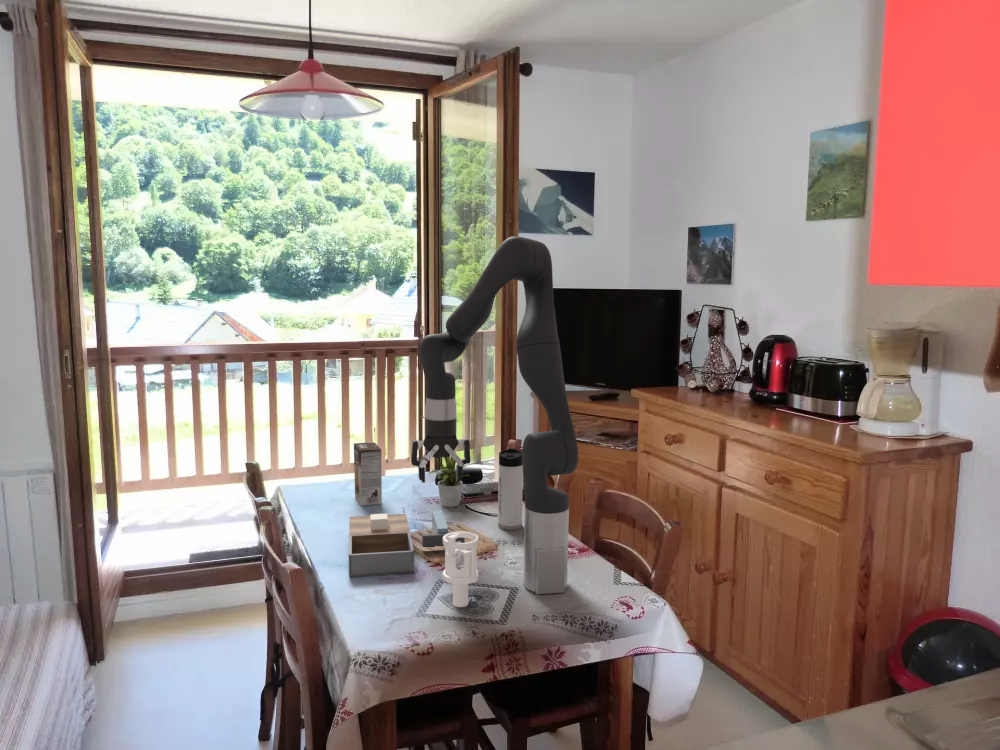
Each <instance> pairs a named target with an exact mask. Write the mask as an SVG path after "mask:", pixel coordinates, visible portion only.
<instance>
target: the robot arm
mask: <svg viewBox="0 0 1000 750" xmlns="http://www.w3.org/2000/svg"><path fill="white" fill-rule="evenodd" d="M552 263H553V262H552V254H551V252H550V250H549V247H547V246H546V244H545V243H543V242H541V241H539V240H535V239H531V238H527V237H523V236H518V235H517V236H515V235H514V236H510V237H508V238H506V239H505V240H503V242H502V243H501V244H500V245H499V247H498V248H497V249H496V250H495V252H494V253H493V255H492V257H491V258H490V260H489V262H488V264H486V265H487V266H486V267H485V269H484V270H483V271H482V273H481V275H480V277H479V278H478V280H477V282H476V283H475V285H474V286H473V287H472V289H471V291H470V292H469V293H468V294H467V296H466V297H465V298H464V299H463V301H461V303H460V304H459V305H458V306H457V307H456V308H455V310H454V311H453V312H452V313H451V314H450V315H449V317H448V318H447V320H446V322H445V329H446V331H445V332H443V333H442V332H441V333H432V334H428V335H425V336H424V337H423V338H422V340H421V342H420V345H419V359H420V363H421V366H422V367H421V368H422V371H423V374H424V378H425V388H426V389H425V392H426V393H425V397H426V398H425V408H424V416H425V417H424V418H425V419H424V425H425V426H424V428H425V429H424V430H425V431H424V434H425V435H424V438H423V440H418V439H416V438H414V439H412V441H411V456H410V461H411V465H412V466H414V467H417V468H418V479H419V481H421V484H422V483H426V468H425V467H426V465H427V464H428V462H429V461H431V459H432V458H434V457H435V458H434V459H439V458H443V459H444V458H448V457H449V456H450V458H451V457H452V458H453V459H454V460H455V461H456V464H455V472H456V480H457V481H461V480H463V478H464V473H463V472H464V470H463V469H464V468H463V467H465V465H467V464H470V463H471V461H472V459H471V449H470V447H471V446H470V440H469V439H468V438H467V437H463V438H462V439H461V438H459V439H458V438H457V400H456V378H455V375H454V374H453V373H450V372H446V369H445V363H449V362H450V363H451V362H454V361H456V360H457V359H458V358H459V357H460V356H462V354H464V351H465V350H466V348H467V346H468V344H469V343H470V340H471V338H472V337H473V336H474V335H475V334H476V333H477V332H478V331H479V330H480V329H481V328H482V327H483V325H484V324H486V322H487V320H488V319H489V318H490V315H491V313H492V310H493V307H494V301H495V298H496V296H497V294H498V293H499V291H500V290H502V288H503V287H504V286H505V285H507V284H508V283H509V282H510V281H512V280H514V281H519V282H522V285H523V289H524V297H525V310H524V314H523V318H522V320H521V323H520V327H519V329H518V332H517V336H516V342H515V343H516V344H515V345H516V354H517V362H518V368H519V372H520V375H521V377H522V379H523V380H524V381H525V383H526V385H527V387H528V388H530V390H531V391H532V392H533V394H534V395H535V396H536V398H537V399H538V401H540V403H541V405H542V407H543V408H544V410H545V412H546V414H547V418H548V422H549V425H550V430H548V431H547V430H546V431H537V432H530V433H528V434H526V436H525V438H523V439H524V440H523V443H522V447H521V449H522V450H521V452H522V464H523V466H522V467H523V489H522V491H523V496H524V535H523V536H524V539H523V542H524V544H523V549H524V550H523V552H524V553H523V586H524V588H526V590H529V591H530V592H531V591H532V592H533V593H535V594H536V595H547V594H548V595H549V594H558V593H559V594H560V593H561V594H562V593H566V589H567V588H568V563H569V562H568V560H569V559H568V558H569V556H568V555H569V521H570V520H569V519H570V517H569V515H570V514H569V513H570V497H569V494H568V493H567V492H565V491H564V490H562V489H560V488H555V487H551V486H548V481H547V477H552V476H561V475H562V476H563V475H569V474H571V473H574V472H575V471H576V470H577V467H578V464H579V447H578V446H579V445H578V442H577V435H576V432H575V431H576V430H575V428H574V424H573V418H572V415H571V410H570V406H569V401H568V395H567V389H566V383H565V375H564V368H563V367H564V366H563V360H562V358H563V357H562V351H561V345H560V344H561V343H560V338H559V335H558V326H557V319H556V309H555V302H554V301H555V299H554V285H553V284H554V279H553V264H552ZM459 445H460V447H461V448H462V449H463V458H461V457H460V456H459V455H458V453H457V452H456V451H455V450H456V449H457V447H458V446H459ZM422 446H424V449H426V451H425V452H424V453H423V456H422V457H421V458H420V459H418V451H419V450H421V448H422Z"/></svg>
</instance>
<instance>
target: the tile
mask: <svg viewBox="0 0 1000 750" xmlns="http://www.w3.org/2000/svg"><path fill="white" fill-rule="evenodd" d="M387 515H388V513H372V514H369V516H370V526H371V530H378V529H388V517H387Z"/></svg>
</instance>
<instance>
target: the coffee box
mask: <svg viewBox="0 0 1000 750" xmlns="http://www.w3.org/2000/svg"><path fill="white" fill-rule="evenodd" d="M353 461H354V462H353V464H354V465H353V466H354V469H353V470H354V471H353V472H354V496H355V499H356V501H357V503H358V504H359V506H360V507H362V506H364V507H365V506H374V505H381V504H383V503H382V499H383V497H382V496H383V495H382V493H383V492H382V489H383V487H382V475H383V474H382V449H381V448H380V446H379V445H378V444H377V443H376V442H375V441H374V442H355V443H353ZM373 504H374V505H373Z"/></svg>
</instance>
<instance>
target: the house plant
mask: <svg viewBox="0 0 1000 750" xmlns="http://www.w3.org/2000/svg"><path fill="white" fill-rule="evenodd" d="M433 458H434V459H435V463H436V464H437V465H438V466H439V467H440V469H438V470H435V469H433V468H431V467H429V469H430V470H432V471H430V472H428V475H431V474H432V473H434V474H436V475H438V476H437V480H439V481H437V486H438V487H437V488H438V493H439V499H440V505H441V506H443V507H445V508H452V507H453V508H454V507H457V506H460V503H461V495H462V490H463V485H464V483H463V481H462V480H460V481H457V480H456V465H457V463H456V461H455V460H454V459H453V458H452V457H451V455H450V456H449V457H448V458H444V457H443V459H444V462H445V465H444V464H443V463H442V462H441V461H440V460H439V458H435V457H433ZM430 461H433V459H432V458H431V459H430ZM464 468H469V467H468V466H465V465H464V466H463V469H464ZM441 472H442V473H443V474H442V473H441ZM464 474H465V473H464V471H463V477H466V476H468V477H470V475H469V474H465V475H464ZM440 479H441V480H440Z"/></svg>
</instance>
